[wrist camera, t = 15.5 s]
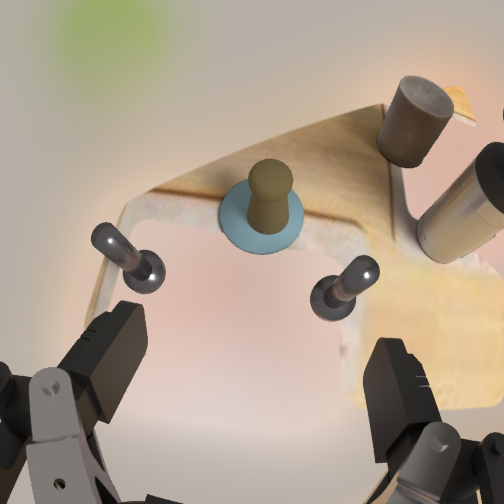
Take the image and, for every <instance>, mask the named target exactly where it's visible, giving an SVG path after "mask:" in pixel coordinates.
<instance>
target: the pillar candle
mask: <svg viewBox="0 0 504 504" xmlns="http://www.w3.org/2000/svg"><path fill="white" fill-rule="evenodd" d="M453 113H454V105H453V102H452V100H451V99H450V97H449V96H448V95H447V93H446V92H445V91H444V90H443V89H441V88H440V87H439V86H437V85H436V84H435V83H433V82H431V81H429V80H427V79H426V78H422V77H420V76H405V77H404V78H403V79H401V81H400V84H399V86H398V89H397V91H396V94H395V96H394V98H393V101H392V103H391V105H390V107H389V110H388V112H387V114H386V116H385V119H384V121H383V123H382V125H381V128H380V130H379V132H378V135H377V145H378V148H379V150H380V151H381V153H382V154H383V155H384V156H385V157H386V158H387V159H388V160H390V161H391V162H393V163H394V164H396V165H398V166H400V167H403V168H414V167H417V166H419V165H420V164H421V163H422V161H423V158H424V157H425V156H426V155H427V154H428V152H429V150H430V149H431V147H432V146H433V144H434V143H435V141H436V140H437V139H438V137H439V135H440V134H441V132H442V130H443V129H444V128H445V126H446V124H447V123H448V121H449V120H450V118H451V117H452V115H453Z"/></svg>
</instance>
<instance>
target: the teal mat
mask: <svg viewBox="0 0 504 504" xmlns="http://www.w3.org/2000/svg"><path fill="white" fill-rule="evenodd" d="M251 194H252V191H251V190H250V188H249V183H248V180H245V181H243V182H241V183H239V184H237V185H236V186H235V187H233V188H232V189H231V190H230V191H229V192H228V193H227V195H226V196H225V198H224V200H223V202H222V205H221V208H220V221H221V226H222V229H223V231H224V233H225V235H226V237H227V238H228V239H229V240H230V242H232V243H233V244H234V245H235V246H236V247H238V248H240V249H242V250H243V251H245V252H248V253H252V254H259V255H265V254H272V253H275V252H279V251H281V250H283V249H285V248H286V247H288V246H289V245H290V244H292V243H293V241H294V240H295V239H296V238H297V236H298V235H299V233H300V231H301V228H302V225H303V220H304V211H303V206H302V203H301V201H300V199H299V197H298V196H297V194H296V193H295V192H294V191H293V190H292V189H291V190H290V192H289V194H288V206H289V221H288V224H287V225H286V227H285V228H284V229H283V230H282V231H281V232H278V233H276V234H272V235H265V234H260V233H258V232H256V231H255V230H254V229H253V228H252V227H251V226H250V225H249V223H248V220H247V211H248V207H249V203H250V198H251Z"/></svg>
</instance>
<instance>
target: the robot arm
mask: <svg viewBox="0 0 504 504" xmlns="http://www.w3.org/2000/svg"><path fill="white" fill-rule="evenodd" d="M503 119H504V110H503ZM503 228H504V143H501V142H492V143H490V144H488V145H487V146H486V147H484V148H483V150H482V151H481V152H480V153H479V154H478V156H477V157H476V158H475V159H474V160H473V161H472V162H471V164H470V165H469V166H468V167H467V168H466V169H465V170H464V172H463V173H462V174H461V175H460V176H459V177H458V178H457V179H456V180H455V181H454V183H453V184H452V185H451V186H450V187H449V188H448V189H447V190H446V191H445V192H444V193H443V194H442V195H441V196H440V197H439V199H438V200H437V201H436V202H435V203H434V204H433V205H432V206H431V207H430V208H429V209H428V210H427V211H426V212H425V213H424V214H423V215H422V216H421V217H420V219H419V221H418V225H417V235H418V240H419V243H420V245H421V247H422V249H423V250H424V251H425V253H426V254H427V255H428V256H429V257H430V258H431V259H433V260H434V261H436V262H439V263H444V264H446V263H451V262H453V261H455V260H456V259H458V258H463V257H464V256H466V255H468V254H469V253H471V252H472V251H474V250H475V249H477V248H479V247H480V246H482V245H483V244H485V243H486V242H488V241H489V240H491V239H492V238H494V237H495V235H496V233H497V232H499V231H500V230H502V229H503ZM147 345H148V336H147V329H146V322H145V314H144V308H143V305H142V304H138V303H133V302H128V301H120V302H119V303H118V304H117V305H116V306H115V308H114V309H113V310H112V312H107V311H106V312H104V313H103V314H101V315H99V316H98V317H96V318H95V319H94V320H93V321H92V322H91V323H90V325H89V326H88V327H87V330H85V331H84V332H83V334H82V335H81V337H80V338H79V339H78V340H77V341H76V343H75V344H74V345H73V346H72V348H71V349H70V350H69V352H68V353H67V354H66V356H65V357H64V358H63V360H62V361H61V362H60V364H59V365H58V366H57V367H49V368H45V369H42V370H40V371H38V372H37V373H36V374H35V375H34V376H33V377H26V376H18V375H12V373H11V371H10V369H9V367H8V366H7V365H6V364H5V363H3V362H0V420H1V423H0V504H7V501H8V499H9V497H10V494H11V492H12V490H13V487H14V485H15V483H16V481H17V479H18V476H19V474H20V472H21V470H22V468H23V466H24V464H25V462H26V460H27V461H28V468H29V474H30V479H31V485H32V490H33V494H34V499H35V504H182V503H178V502H174V501H170V500H166V499H163V498H159V497H155V496H152V495H149V494H147V496H146V500H145V501H129V502H121V500H120V497H119V495H118V493H117V491H116V489H115V487H114V485H113V483H112V481H111V479H110V476H109V474H108V471H107V468H106V465H105V462H104V459H103V456H102V453H101V449H100V447H99V443H98V440H97V436H96V432H95V429H94V426H95V425H96V423H97V421H98V420H99V421H102V422H105V423H107V424H109V423H110V421H111V419H112V417H113V415H114V413H115V411H116V409H117V407H118V405H119V403H120V401H121V399H122V397H123V395H124V393H125V392H126V390H127V387H128V386H129V384H130V382H131V380H132V378H133V376H134V374H135V372H136V370H137V369H138V367H139V364H140V363H141V361H142V359H143V357H144V355H145V353H146V349H147ZM363 388H364V393H365V398H366V404H367V410H368V416H369V422H370V428H371V435H372V441H373V448H374V455H375V463H387V464H388V470H387V471H386V472H385V473H384V475H383V476H382V478H381V479H380V481H379V482H378V484H377V485H376V487H375V488H374V489H373V491H372V492H371V494H370V495H369V496H368V498H367V499H366V501H365V502H364V503H363V504H478V499H477V493H476V491H477V490H478V489H480V495H481V500H482V504H504V435H503V434H501V433H497V432H494V433H490V434H488V435H487V436H486V437H485V438H484V439H483V440H482V441H481V442H478V441H472V440H466V439H461V438H460V435H459V433H458V432H457V431H456V430H455V428H453V427H452V426H451V425H449V424H447V423H444V422H442V419H441V417H440V413H439V410H438V407H437V404H436V402H435V399H434V396H433V393H432V390H431V388H429V382H428V380H427V378H426V374H425V372H424V369H423V367H422V364H421V363H420V362H419V361H418V360H417V358H416V357H415V356H414V355H413V354H408V353H407V351H406V348H405V346H404V343H403V341H402V339H398V338H383V337H381V338H379V339H378V341H377V343H376V345H375V348H374V350H373V352H372V355H371V357H370V359H369V361H368V364H367V366H366V368H365V371H364V376H363Z"/></svg>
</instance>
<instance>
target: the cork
mask: <svg viewBox="0 0 504 504" xmlns="http://www.w3.org/2000/svg"><path fill="white" fill-rule="evenodd" d="M248 183H249V188H250V190H251V191H252V194H251V198H250V203H249V207H248V211H247V220H248V223H249V225H250V226H251V227H252V228H253V229H254V230H255V231H256V232H258V233H260V234H265V235H272V234H276V233H278V232H281V231H282V230H283V229H284V228H285V227H286V225H287V224H288V221H289V206H288V194H289V192H290V190H291V189H292V184H293V177H292V173H291V171H290V169H289V168H288V166H286V165H285V164H284V163H283V162H281V161H279V160H275V159H265V160H262V161H260V162H258V163H257V164H255V165H254V166H253V167H252V169H251V170H250V173H249V177H248Z"/></svg>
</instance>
